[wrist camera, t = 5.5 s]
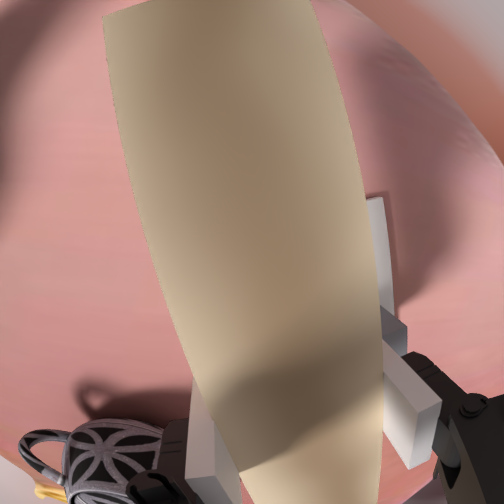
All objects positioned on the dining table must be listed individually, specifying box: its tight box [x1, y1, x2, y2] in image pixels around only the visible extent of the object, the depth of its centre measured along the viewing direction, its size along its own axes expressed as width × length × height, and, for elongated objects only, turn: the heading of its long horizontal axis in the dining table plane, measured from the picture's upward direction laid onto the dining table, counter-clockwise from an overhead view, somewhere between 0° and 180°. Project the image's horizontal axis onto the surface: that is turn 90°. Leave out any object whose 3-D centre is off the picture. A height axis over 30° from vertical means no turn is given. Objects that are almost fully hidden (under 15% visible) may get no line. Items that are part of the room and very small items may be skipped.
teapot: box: [18, 418, 164, 504], centre depth 26 cm, size 19×31×15 cm, turn 55°
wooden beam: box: [102, 0, 384, 504], centre depth 11 cm, size 5×24×6 cm, turn 14°
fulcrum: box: [366, 197, 407, 357], centre depth 28 cm, size 12×24×7 cm, turn 13°
